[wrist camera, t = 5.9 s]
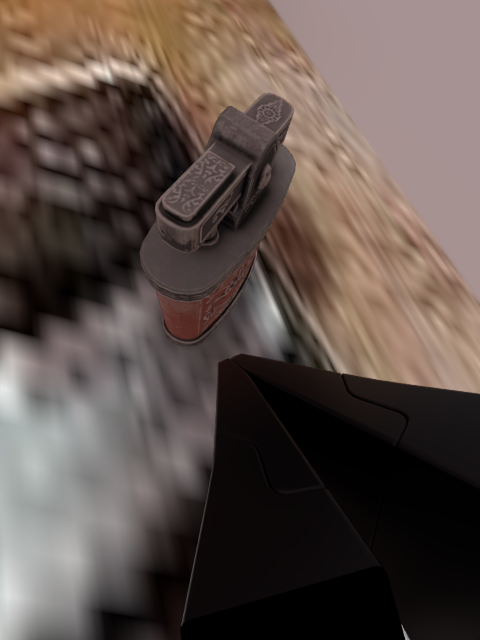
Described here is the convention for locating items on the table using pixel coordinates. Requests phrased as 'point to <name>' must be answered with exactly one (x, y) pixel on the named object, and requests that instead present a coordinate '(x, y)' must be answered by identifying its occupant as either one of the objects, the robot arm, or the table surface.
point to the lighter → (218, 219)
